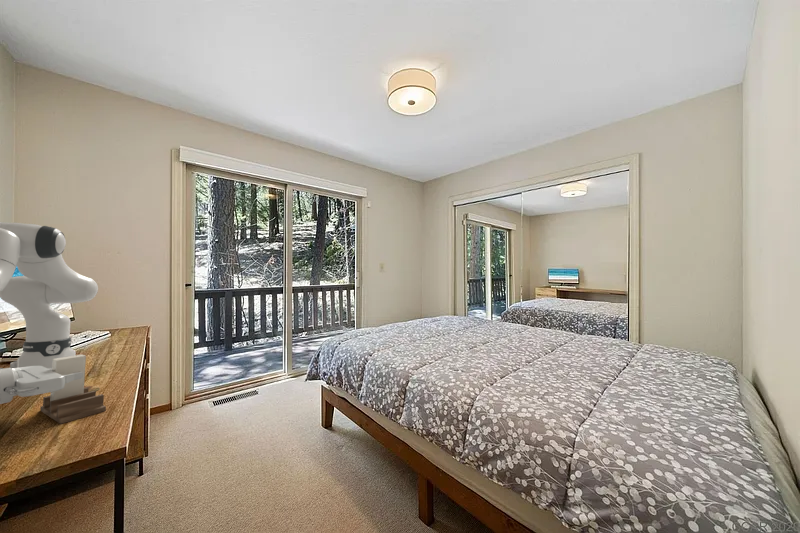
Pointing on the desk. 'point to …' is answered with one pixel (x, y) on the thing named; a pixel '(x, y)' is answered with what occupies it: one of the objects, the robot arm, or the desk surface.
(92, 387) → the shard
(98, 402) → the drying rack
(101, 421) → the desk surface
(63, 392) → the clay bar
